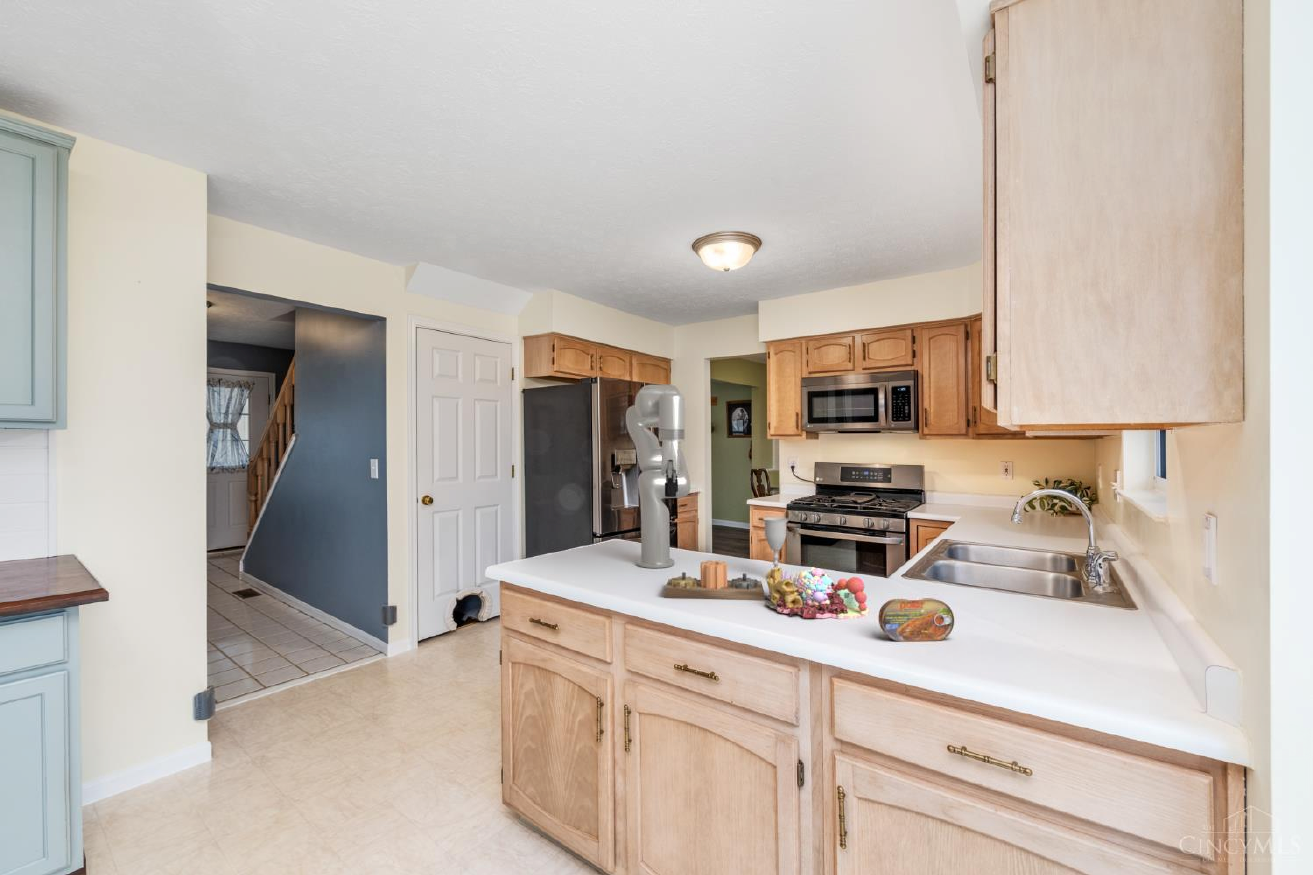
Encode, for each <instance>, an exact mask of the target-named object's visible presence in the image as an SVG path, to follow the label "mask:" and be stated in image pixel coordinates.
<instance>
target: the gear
mask: <svg viewBox="0 0 1313 875" xmlns="http://www.w3.org/2000/svg"><path fill="white" fill-rule="evenodd" d="M700 580H701V586H702V587H707V588H709V589H711V588H717V589H720V588H722V587H727V580H728V562H727V561H721V560H711V559H710V560H706V561H701V562H700Z"/></svg>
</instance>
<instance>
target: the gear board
mask: <svg viewBox="0 0 1313 875" xmlns="http://www.w3.org/2000/svg"><path fill="white" fill-rule="evenodd" d="M663 592H664V593H663V594H664V597H663V598H664V599H691V600H693V599H694V600H695V599H697V600H699V599H701V600H732V601H733V600H739V601H741V600H742V601H743V600H744V601H746V600H747V601H765V590H764V586H763V582H762V580H758V579H756V578H754V579H753V578H751V577H747V573H742V577H737V578H732V579H730V580H728V579H727V587H722V588H720V589H717V588H711V589H709V588H707V587H702V586H701V579H697V578H696V577H691V576H687V575H686V572H682V573H681V576H677V577H672V578H669V579H668V580H667V582H666V585H665V588H664V591H663Z"/></svg>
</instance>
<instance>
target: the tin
mask: <svg viewBox="0 0 1313 875" xmlns="http://www.w3.org/2000/svg"><path fill="white" fill-rule="evenodd" d="M877 619H878V624H879V628H880V630H882V632H883V633H884V634H885V635H887V636H888V637H889V638H890V639H891V640H893V641H895V642H899V643H905V642H906V643H910V642H911V643H912V642H939V641H942V640H944V639H946V638H947V637H948V636H950V635H951V633H952V631H953V629H954V626H955V616H954V612H953V610H952V609H951V607H950V606H949V605H948V604H947V603H946V602H944V601H942V600H939V599H936V598H932V597H920V598H918V597H917V598H894V599H890V600H888V601H886V602H885V603H884V604H883V605H882V606H881V607H880V609H879V611H878V618H877Z"/></svg>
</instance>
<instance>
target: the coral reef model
mask: <svg viewBox="0 0 1313 875" xmlns="http://www.w3.org/2000/svg"><path fill="white" fill-rule="evenodd" d="M787 572H788V571H787V570H786V571H785V572H783V569H782V567H778V568H777V567H773V568H771V569H770V570H769V571H767V572H766V574H765V576H766V579H765V582H766V584H767V588H768V590H769V592H768V593H769V594H767V595H765V598H767V599H768V601H767V602H765V605H766V606H768V607H769V608H772V609H774V610H776V611H777V612H778V613H781V614H789V617H792V616H795V615H800V616H802V617H803V618H802V619H827V618H832V619H838V620H851V619H853V620H854V619H862V618H866V617H867V616H869V615H870V612H871V611H870V608H869V606H868V605H867V604H866V602H867V594H866V593H865V592H864V589H865V583H864V581H863V580H862V579H861V578H859V577H856V576H854V577H850V578H849V579H848V580H847V579H845V578H840V579H839V580H838V581H837V583H836V584H835V583H834V581H833V580H832V578H831V576H829V575H828V574H827V573H825V572H824V571H823V570H822V569H821V568H818V567H817V568H816V567H814V566H813V567H812V566H811V567H810V568H809V569H804V570H802V571H801V572H800V573H799V572H798V571H796V574H795V576H794V577H793V572H791V574H790V576H788V575H787V574H788V573H787ZM783 578H784V579H783ZM780 579H781V580H780Z"/></svg>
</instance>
